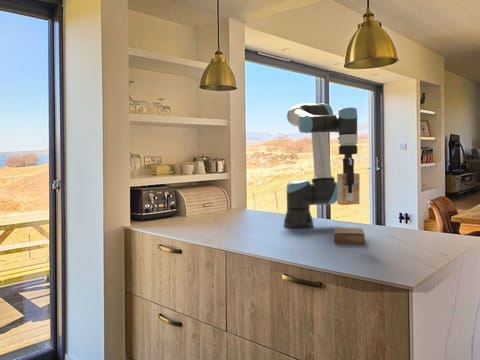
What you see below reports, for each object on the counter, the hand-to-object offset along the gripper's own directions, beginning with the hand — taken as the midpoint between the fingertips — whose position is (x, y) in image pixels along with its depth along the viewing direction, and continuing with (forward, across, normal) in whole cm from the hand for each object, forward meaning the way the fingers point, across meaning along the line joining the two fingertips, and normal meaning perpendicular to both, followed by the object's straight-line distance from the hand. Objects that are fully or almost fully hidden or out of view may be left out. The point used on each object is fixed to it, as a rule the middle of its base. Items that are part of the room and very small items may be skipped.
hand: (348, 199), depth 171 cm
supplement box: (+2, 0, 0) cm, 2 cm away
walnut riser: (+18, 0, 0) cm, 18 cm away
